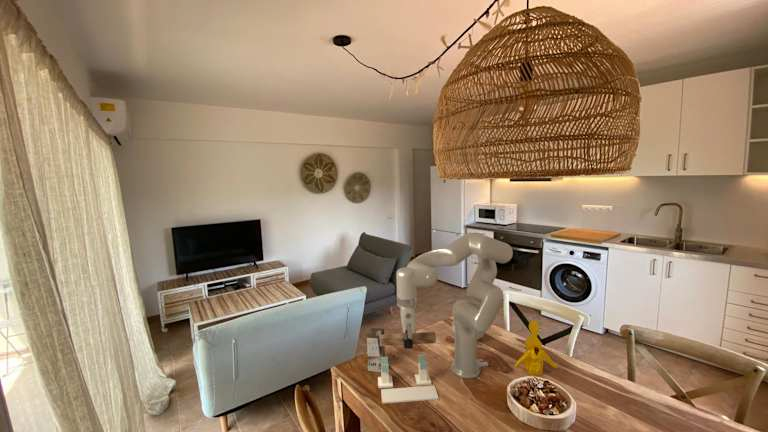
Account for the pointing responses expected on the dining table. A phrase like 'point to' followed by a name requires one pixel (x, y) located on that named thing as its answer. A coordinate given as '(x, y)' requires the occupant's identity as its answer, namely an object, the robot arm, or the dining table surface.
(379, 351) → the coffee box
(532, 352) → the figure statuette
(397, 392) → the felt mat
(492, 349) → the dining table surface
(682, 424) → the dining table surface
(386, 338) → the rail
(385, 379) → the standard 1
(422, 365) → the toy blocks
